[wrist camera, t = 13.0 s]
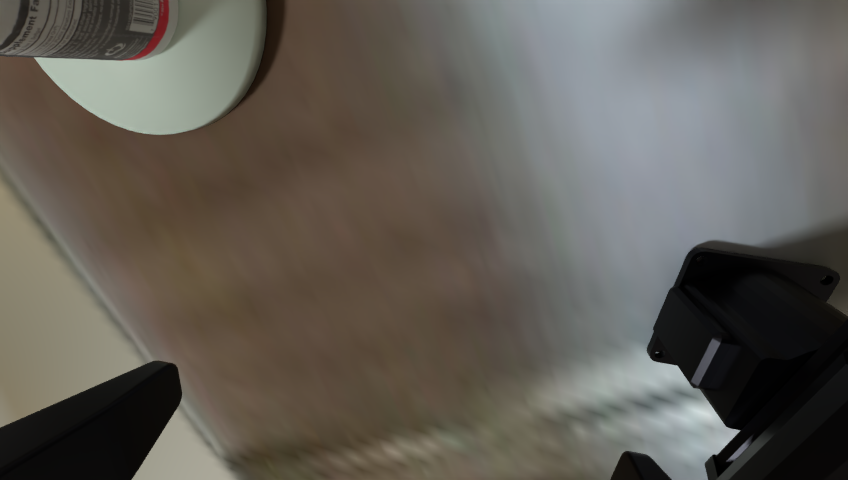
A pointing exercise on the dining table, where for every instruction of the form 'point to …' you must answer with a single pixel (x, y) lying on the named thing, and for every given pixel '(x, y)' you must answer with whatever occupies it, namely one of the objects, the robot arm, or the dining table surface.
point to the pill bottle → (87, 28)
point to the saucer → (174, 71)
